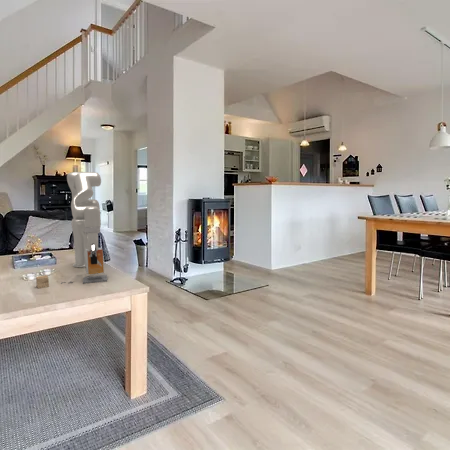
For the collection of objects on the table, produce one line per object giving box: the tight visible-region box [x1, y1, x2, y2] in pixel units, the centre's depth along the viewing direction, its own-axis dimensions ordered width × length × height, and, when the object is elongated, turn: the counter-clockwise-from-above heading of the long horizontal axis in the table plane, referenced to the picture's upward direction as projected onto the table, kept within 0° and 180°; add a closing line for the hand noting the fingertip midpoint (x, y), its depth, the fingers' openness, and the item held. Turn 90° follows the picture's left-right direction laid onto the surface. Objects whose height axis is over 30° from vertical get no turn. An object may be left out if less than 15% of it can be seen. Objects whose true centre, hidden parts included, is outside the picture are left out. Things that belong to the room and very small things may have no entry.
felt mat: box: [82, 274, 108, 284], centre depth 187 cm, size 12×12×1 cm
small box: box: [85, 247, 104, 275], centre depth 186 cm, size 8×6×13 cm
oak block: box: [35, 275, 50, 289], centre depth 175 cm, size 5×5×5 cm
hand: (94, 262), depth 186 cm, fingers closed on small box, 7 cm apart
